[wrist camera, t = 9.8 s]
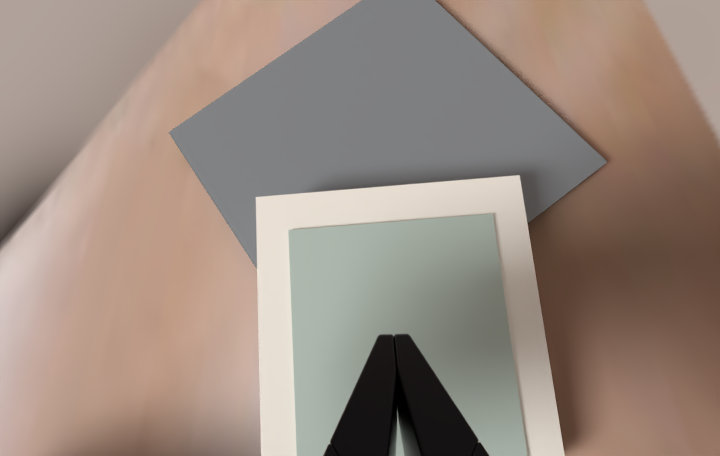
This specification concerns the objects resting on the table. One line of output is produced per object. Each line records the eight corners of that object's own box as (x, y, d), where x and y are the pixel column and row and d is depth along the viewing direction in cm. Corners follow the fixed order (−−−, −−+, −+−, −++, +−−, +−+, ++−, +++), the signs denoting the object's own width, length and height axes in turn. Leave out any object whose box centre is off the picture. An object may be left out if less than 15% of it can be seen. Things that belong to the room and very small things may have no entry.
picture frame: (500, 190, 18) (541, 467, 16) (271, 209, 19) (279, 482, 16) (521, 173, 16) (574, 501, 13) (254, 196, 16) (260, 519, 14)
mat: (599, 168, 19) (607, 162, 18) (330, 375, 18) (327, 377, 17) (404, -18, 23) (404, -29, 23) (176, 138, 22) (168, 132, 21)
